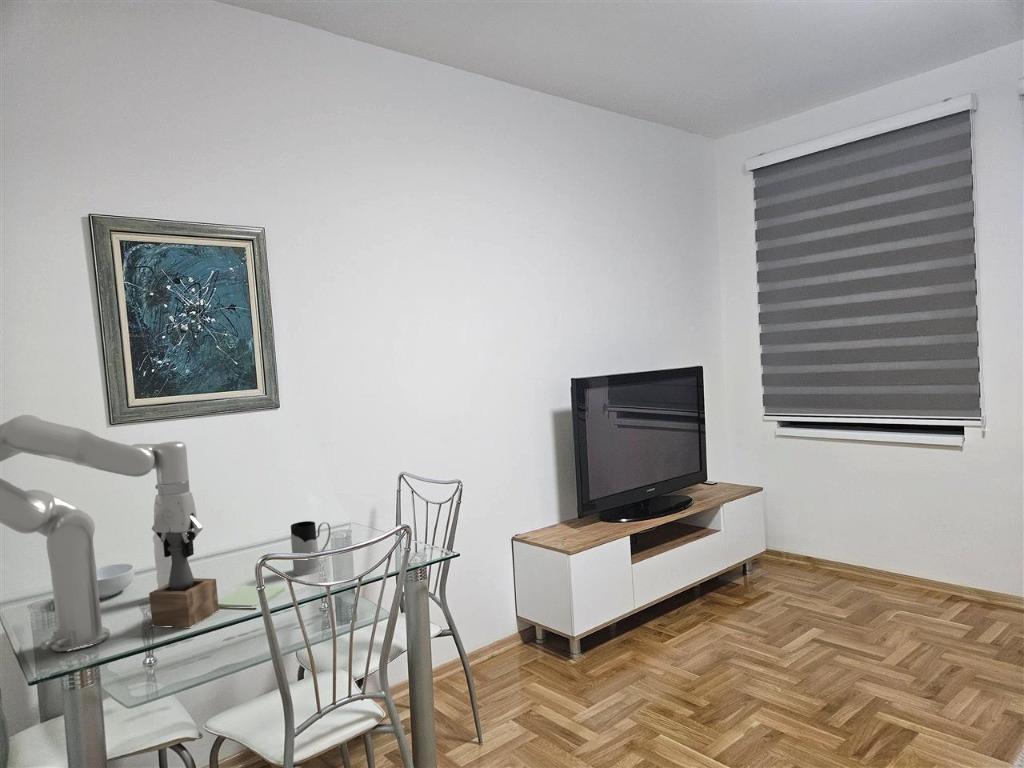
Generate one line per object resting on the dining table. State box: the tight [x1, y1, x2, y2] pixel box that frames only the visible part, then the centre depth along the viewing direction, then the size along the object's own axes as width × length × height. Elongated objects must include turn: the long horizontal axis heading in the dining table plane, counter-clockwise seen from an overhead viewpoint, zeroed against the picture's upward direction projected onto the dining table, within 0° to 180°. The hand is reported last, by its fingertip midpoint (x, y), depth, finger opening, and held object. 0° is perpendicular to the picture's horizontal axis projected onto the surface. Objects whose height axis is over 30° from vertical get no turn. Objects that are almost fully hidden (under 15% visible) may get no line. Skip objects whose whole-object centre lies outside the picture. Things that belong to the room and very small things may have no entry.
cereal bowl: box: [96, 563, 135, 599], centre depth 211 cm, size 17×17×7 cm
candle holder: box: [165, 527, 194, 591], centre depth 186 cm, size 6×6×25 cm
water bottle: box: [152, 532, 172, 589], centre depth 206 cm, size 7×7×25 cm
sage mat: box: [218, 585, 286, 607], centre depth 199 cm, size 14×14×1 cm
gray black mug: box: [290, 520, 331, 576], centre depth 224 cm, size 9×14×15 cm, turn 140°
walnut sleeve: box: [148, 577, 220, 628], centre depth 187 cm, size 12×12×9 cm
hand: (179, 555), depth 186 cm, fingers closed on candle holder, 5 cm apart
